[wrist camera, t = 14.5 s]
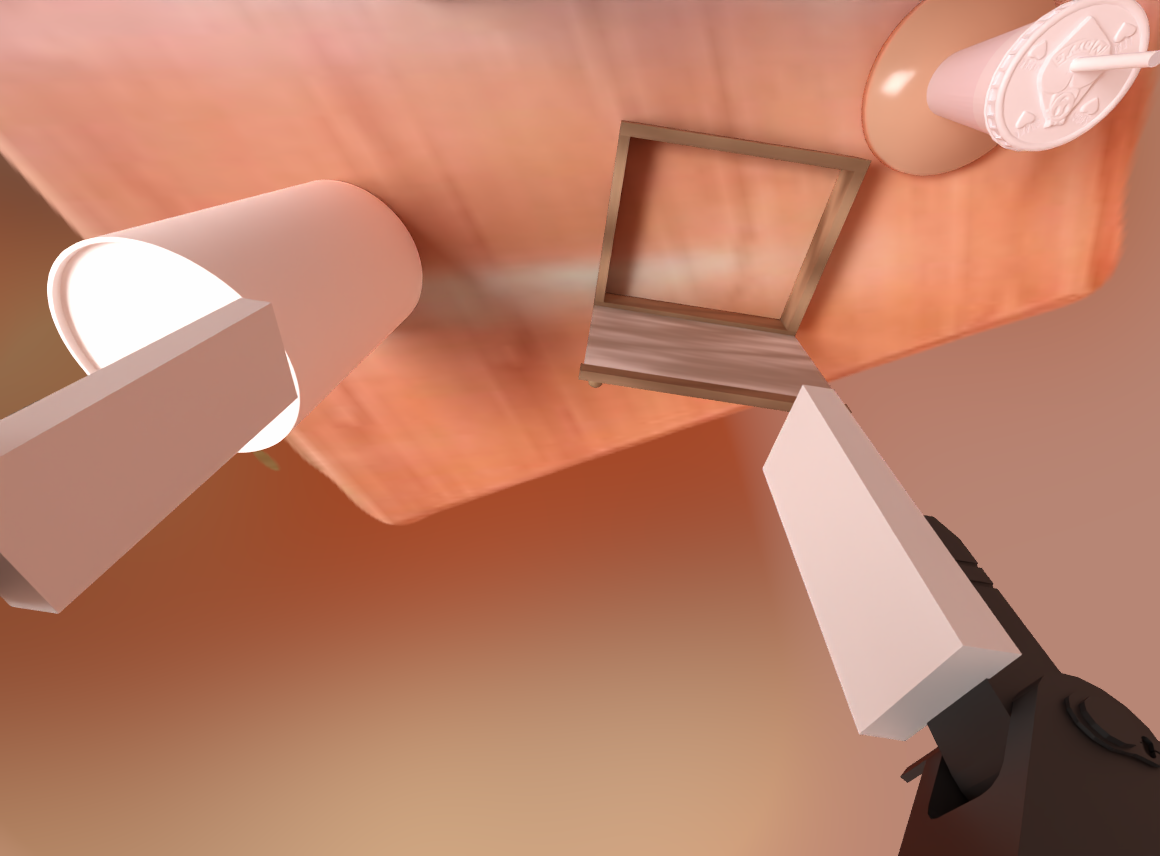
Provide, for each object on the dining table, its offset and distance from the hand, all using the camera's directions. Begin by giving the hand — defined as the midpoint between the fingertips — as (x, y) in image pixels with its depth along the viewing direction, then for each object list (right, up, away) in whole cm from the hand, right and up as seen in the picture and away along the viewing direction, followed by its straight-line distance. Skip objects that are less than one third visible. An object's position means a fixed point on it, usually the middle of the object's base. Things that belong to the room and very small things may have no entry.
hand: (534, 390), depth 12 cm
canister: (-20, +15, +31) cm, 40 cm away
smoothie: (+27, +22, +19) cm, 40 cm away
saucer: (+27, +23, +20) cm, 40 cm away
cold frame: (+12, +15, +27) cm, 33 cm away
